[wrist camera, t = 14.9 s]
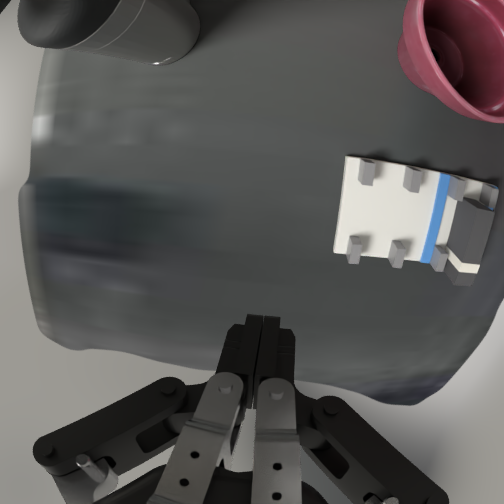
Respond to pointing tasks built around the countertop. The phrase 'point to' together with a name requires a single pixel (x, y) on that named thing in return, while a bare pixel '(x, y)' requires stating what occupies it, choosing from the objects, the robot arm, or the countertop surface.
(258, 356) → the robot arm
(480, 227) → the charcoal rectangular prism
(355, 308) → the countertop surface
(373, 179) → the white pegged board
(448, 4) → the plant pot
